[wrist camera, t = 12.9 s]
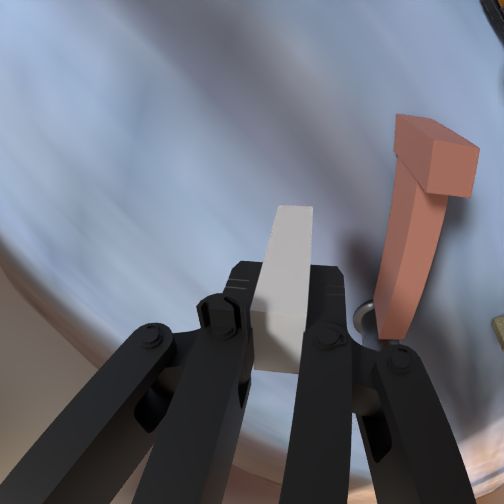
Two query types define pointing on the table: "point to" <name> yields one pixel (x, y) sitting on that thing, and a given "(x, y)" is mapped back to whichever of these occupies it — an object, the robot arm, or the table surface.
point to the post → (370, 327)
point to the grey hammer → (499, 330)
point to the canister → (496, 12)
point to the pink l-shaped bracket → (418, 214)
